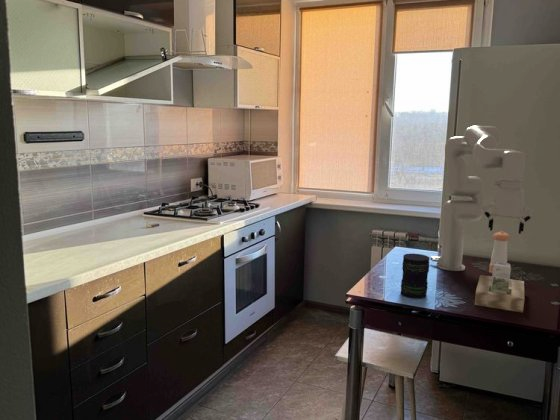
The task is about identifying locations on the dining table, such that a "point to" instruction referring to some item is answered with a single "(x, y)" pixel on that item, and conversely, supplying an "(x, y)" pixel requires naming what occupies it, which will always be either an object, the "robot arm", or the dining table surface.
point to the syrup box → (500, 277)
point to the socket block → (500, 295)
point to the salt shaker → (499, 249)
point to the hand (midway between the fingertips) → (505, 231)
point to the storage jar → (415, 276)
